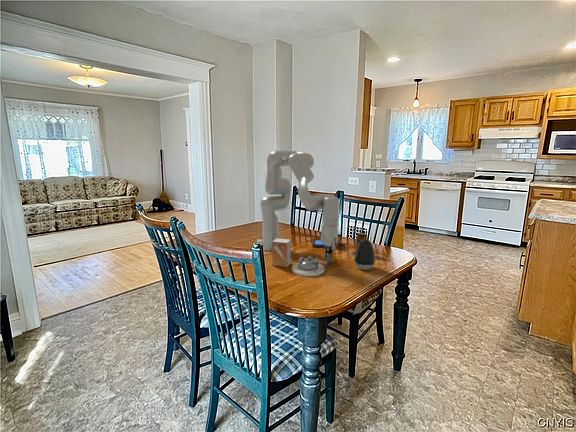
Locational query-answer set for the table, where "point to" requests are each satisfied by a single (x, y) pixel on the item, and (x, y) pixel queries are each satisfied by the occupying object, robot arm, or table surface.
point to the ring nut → (313, 262)
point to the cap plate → (308, 273)
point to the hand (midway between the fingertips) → (328, 258)
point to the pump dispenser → (364, 255)
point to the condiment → (360, 237)
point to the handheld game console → (318, 243)
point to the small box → (281, 252)
